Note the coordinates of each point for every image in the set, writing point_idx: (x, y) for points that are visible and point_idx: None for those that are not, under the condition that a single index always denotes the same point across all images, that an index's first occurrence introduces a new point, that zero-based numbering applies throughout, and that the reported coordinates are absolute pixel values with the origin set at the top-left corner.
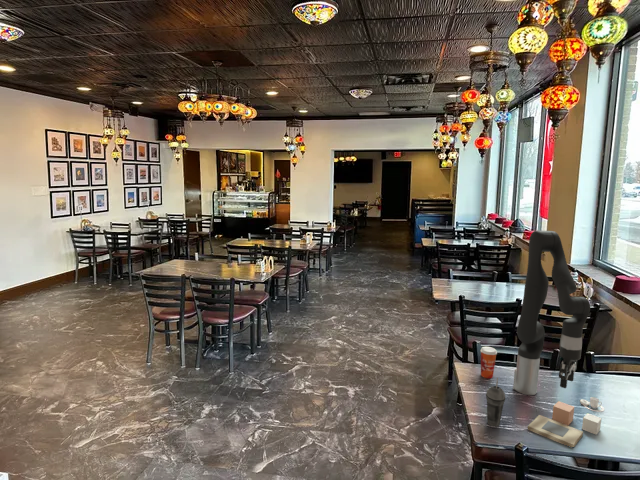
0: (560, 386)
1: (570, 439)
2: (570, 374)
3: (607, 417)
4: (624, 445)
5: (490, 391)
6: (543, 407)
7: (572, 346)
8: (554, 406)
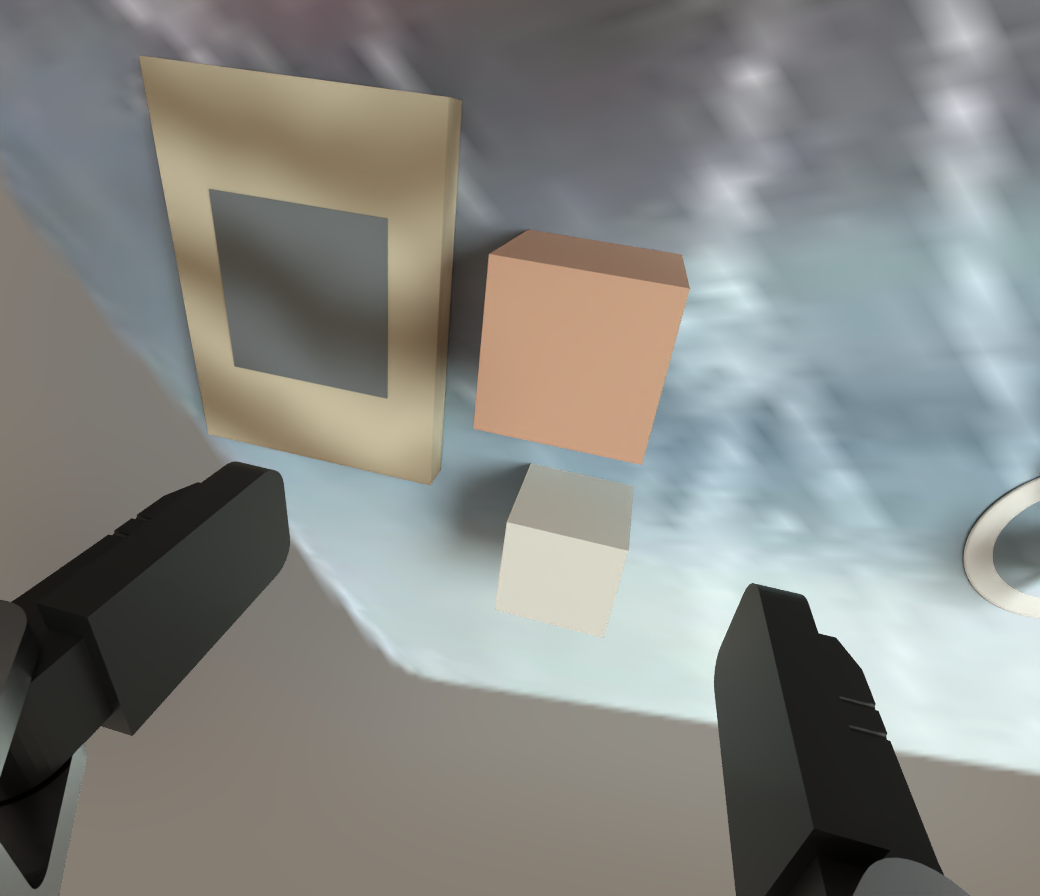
0: (237, 467)
1: (253, 414)
2: (761, 796)
3: (873, 622)
4: (501, 657)
5: None
6: (775, 75)
7: None
8: (488, 267)
